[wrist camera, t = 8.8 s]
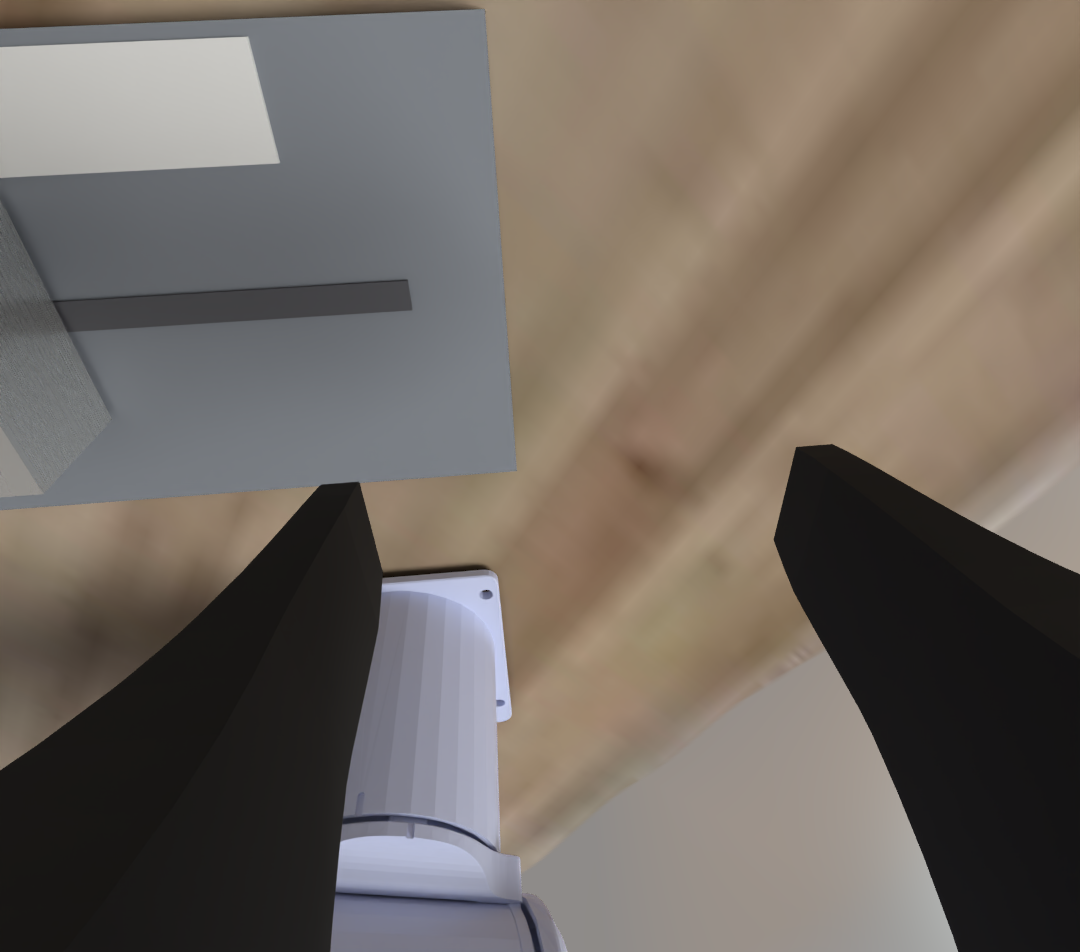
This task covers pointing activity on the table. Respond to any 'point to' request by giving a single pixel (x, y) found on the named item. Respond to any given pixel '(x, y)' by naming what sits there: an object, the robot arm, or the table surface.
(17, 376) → the slider block with tab
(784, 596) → the table surface
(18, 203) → the gauge board
